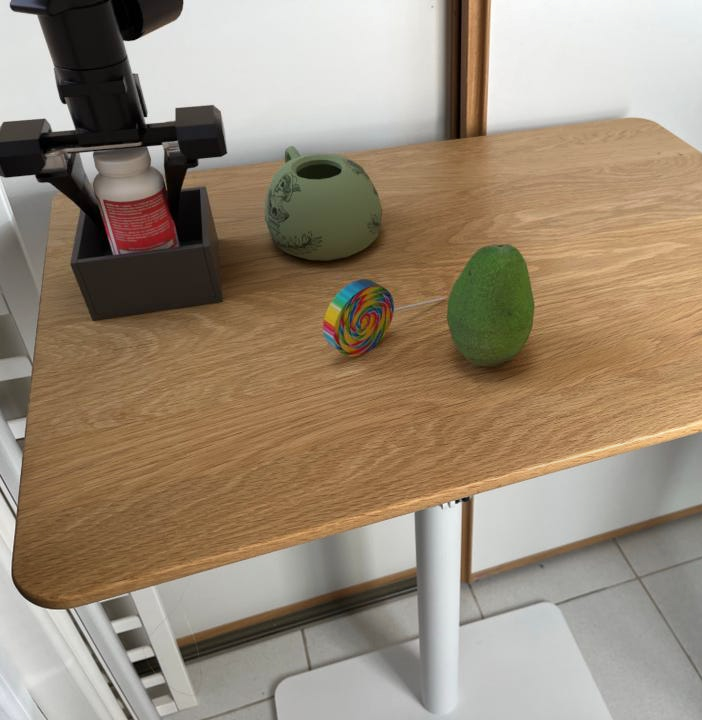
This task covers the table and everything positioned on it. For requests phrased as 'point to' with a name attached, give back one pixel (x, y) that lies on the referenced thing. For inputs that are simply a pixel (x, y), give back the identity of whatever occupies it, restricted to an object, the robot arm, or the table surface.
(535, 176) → the table surface
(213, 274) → the bin
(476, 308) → the fruit
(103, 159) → the pill bottle
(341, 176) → the green rounded hollow pot
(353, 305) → the lollipop
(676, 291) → the table surface
